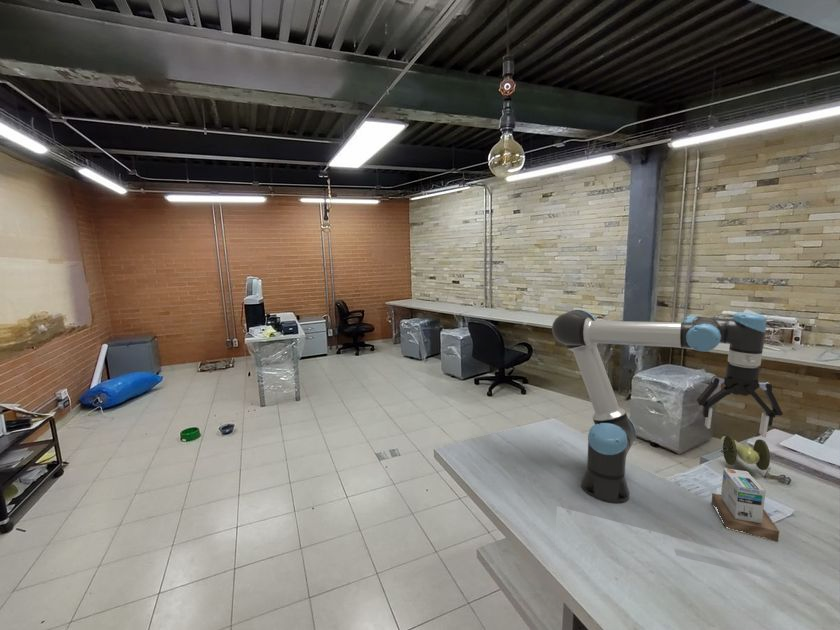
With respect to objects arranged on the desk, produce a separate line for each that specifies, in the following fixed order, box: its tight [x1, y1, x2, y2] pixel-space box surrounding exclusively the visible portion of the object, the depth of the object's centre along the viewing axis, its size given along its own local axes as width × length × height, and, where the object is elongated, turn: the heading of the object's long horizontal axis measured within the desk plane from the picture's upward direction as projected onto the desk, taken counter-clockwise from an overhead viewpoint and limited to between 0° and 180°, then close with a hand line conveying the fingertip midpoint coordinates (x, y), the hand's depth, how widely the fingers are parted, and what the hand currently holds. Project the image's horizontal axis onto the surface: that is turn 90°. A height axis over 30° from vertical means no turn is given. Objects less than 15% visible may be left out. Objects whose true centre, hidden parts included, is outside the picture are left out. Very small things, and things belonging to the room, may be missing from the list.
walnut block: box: [711, 493, 780, 542], centre depth 115 cm, size 12×14×5 cm
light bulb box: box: [720, 467, 766, 523], centre depth 113 cm, size 11×7×11 cm, turn 161°
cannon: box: [720, 435, 771, 471], centre depth 151 cm, size 25×12×11 cm, turn 158°
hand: (734, 430), depth 114 cm, fingers open, 13 cm apart
